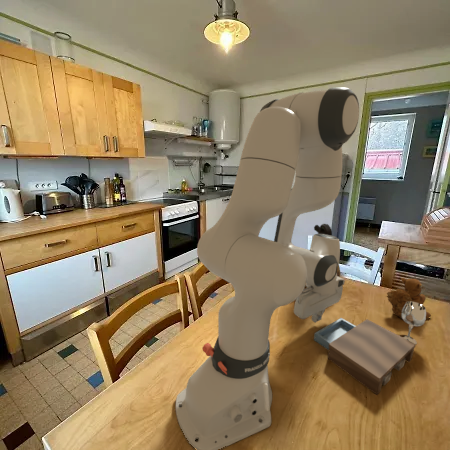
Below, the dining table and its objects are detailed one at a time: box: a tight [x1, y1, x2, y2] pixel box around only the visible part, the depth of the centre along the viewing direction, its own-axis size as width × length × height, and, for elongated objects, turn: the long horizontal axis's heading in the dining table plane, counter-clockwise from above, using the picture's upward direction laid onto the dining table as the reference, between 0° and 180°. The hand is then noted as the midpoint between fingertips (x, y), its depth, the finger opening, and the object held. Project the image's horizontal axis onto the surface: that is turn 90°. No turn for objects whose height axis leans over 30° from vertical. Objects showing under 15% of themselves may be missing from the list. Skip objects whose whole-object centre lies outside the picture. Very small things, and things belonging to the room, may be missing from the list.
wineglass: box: [399, 301, 427, 345], centre depth 73 cm, size 6×6×12 cm
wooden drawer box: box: [327, 318, 417, 396], centre depth 66 cm, size 20×13×5 cm, turn 123°
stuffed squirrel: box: [386, 277, 432, 320], centre depth 86 cm, size 10×14×13 cm
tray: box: [313, 317, 357, 351], centre depth 70 cm, size 14×18×2 cm
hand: (316, 320), depth 81 cm, fingers closed
